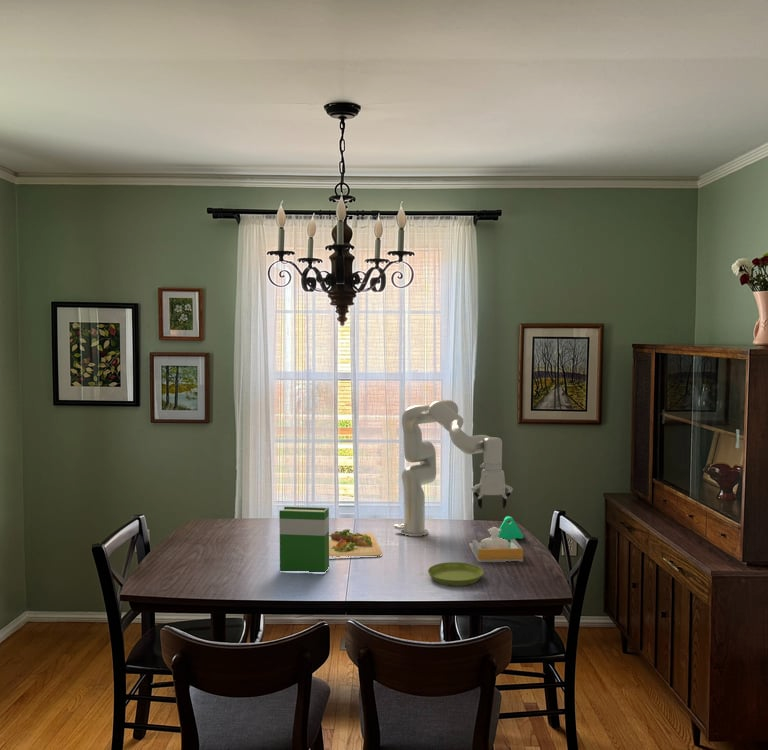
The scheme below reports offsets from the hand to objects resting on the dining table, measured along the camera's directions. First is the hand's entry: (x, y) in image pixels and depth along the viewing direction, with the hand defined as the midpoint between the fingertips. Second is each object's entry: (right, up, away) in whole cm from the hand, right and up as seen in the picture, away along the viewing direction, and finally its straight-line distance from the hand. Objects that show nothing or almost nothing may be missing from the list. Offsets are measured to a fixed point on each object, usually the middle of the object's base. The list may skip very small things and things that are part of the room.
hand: (491, 507), depth 289 cm
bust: (+1, -19, -2) cm, 19 cm away
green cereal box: (-76, -21, -21) cm, 81 cm away
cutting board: (-59, -20, +12) cm, 64 cm away
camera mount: (+11, -19, +24) cm, 32 cm away
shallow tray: (+1, -19, +1) cm, 19 cm away
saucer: (-18, -21, -31) cm, 42 cm away
